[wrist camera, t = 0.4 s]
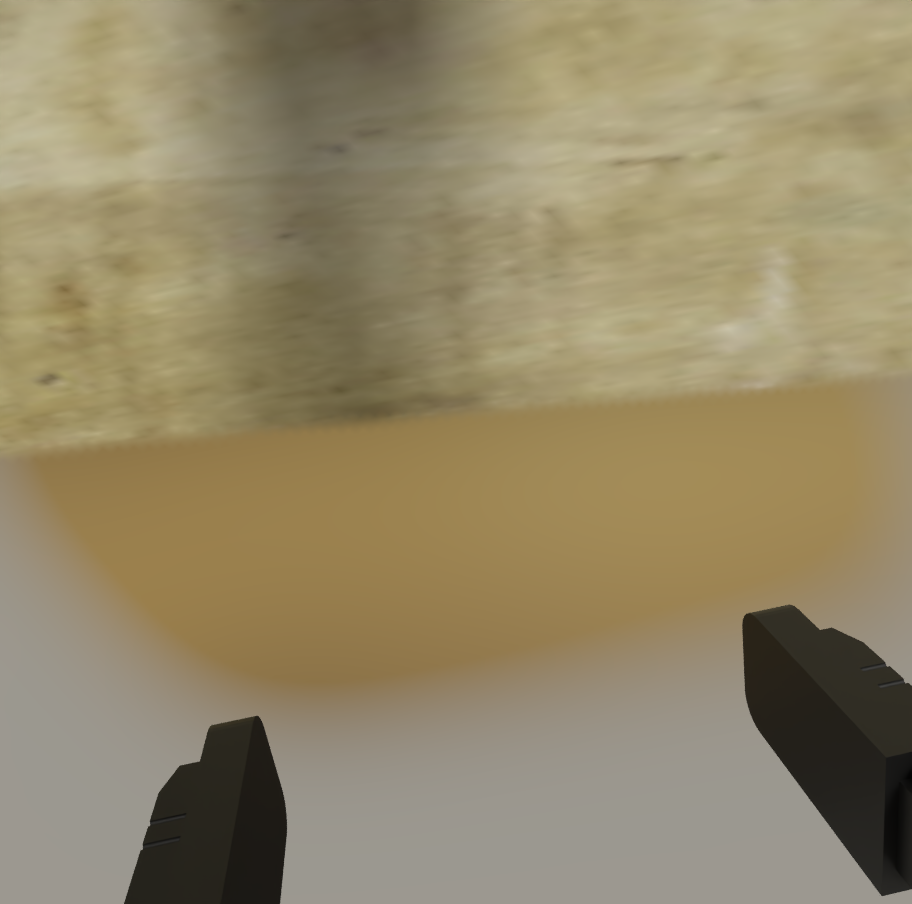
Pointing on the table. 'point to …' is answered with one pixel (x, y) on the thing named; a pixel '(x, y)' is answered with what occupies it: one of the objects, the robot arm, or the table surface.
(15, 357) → the table surface
